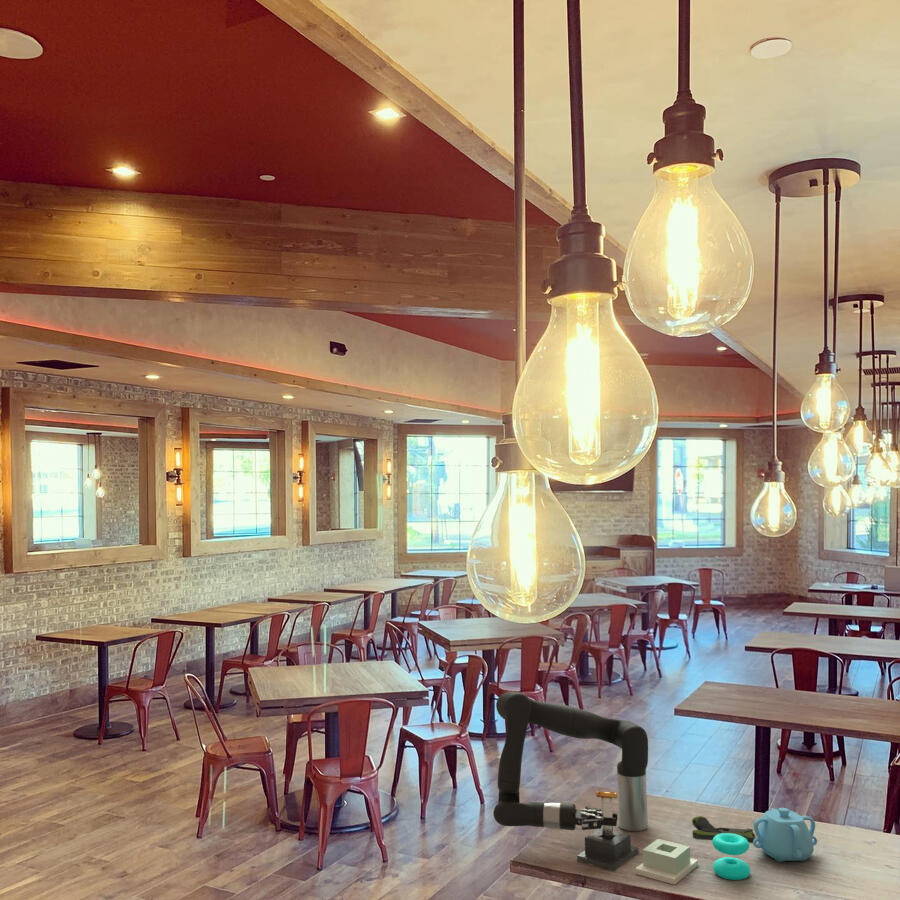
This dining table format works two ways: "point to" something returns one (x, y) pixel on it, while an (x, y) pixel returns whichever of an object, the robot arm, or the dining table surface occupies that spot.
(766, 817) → the decorative pot
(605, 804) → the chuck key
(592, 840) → the block
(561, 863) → the dining table surface
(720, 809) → the dining table surface
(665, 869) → the pale green socket base
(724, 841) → the donuts
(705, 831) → the gun
